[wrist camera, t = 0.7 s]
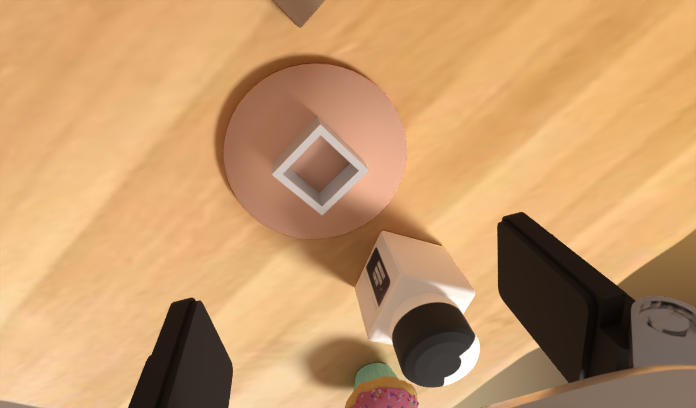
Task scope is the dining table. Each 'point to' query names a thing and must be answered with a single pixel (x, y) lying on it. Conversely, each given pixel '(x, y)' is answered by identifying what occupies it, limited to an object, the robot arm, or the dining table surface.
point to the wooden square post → (299, 9)
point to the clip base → (315, 151)
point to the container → (418, 309)
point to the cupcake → (381, 389)
